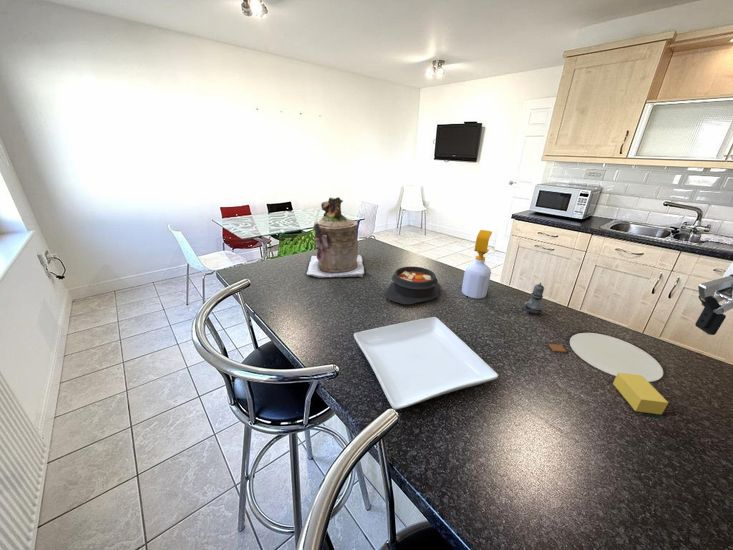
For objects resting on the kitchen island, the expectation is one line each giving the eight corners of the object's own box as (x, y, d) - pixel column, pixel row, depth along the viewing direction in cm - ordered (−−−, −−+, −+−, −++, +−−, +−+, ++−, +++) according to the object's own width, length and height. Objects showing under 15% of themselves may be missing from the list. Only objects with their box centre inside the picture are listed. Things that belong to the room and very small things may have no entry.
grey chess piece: (530, 320, 96) (540, 287, 92) (517, 311, 102) (526, 279, 97) (545, 317, 98) (555, 285, 93) (531, 308, 103) (540, 277, 98)
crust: (559, 349, 83) (561, 344, 82) (565, 355, 80) (567, 351, 79) (546, 348, 83) (548, 343, 83) (552, 354, 80) (553, 350, 80)
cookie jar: (362, 258, 146) (363, 191, 133) (365, 278, 123) (366, 201, 110) (311, 258, 144) (308, 191, 131) (305, 279, 122) (300, 200, 109)
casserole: (415, 315, 97) (417, 293, 94) (373, 296, 109) (373, 276, 105) (451, 291, 114) (454, 271, 111) (411, 277, 126) (413, 258, 122)
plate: (628, 340, 87) (630, 336, 87) (683, 390, 69) (685, 386, 69) (556, 332, 90) (557, 329, 90) (590, 379, 72) (592, 375, 72)
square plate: (351, 343, 83) (351, 331, 82) (434, 325, 92) (436, 315, 91) (392, 421, 60) (394, 407, 58) (498, 387, 69) (501, 374, 68)
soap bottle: (488, 292, 114) (501, 230, 104) (483, 301, 107) (496, 236, 97) (465, 286, 119) (475, 226, 109) (458, 295, 112) (469, 232, 102)
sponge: (634, 390, 69) (641, 375, 67) (659, 418, 62) (668, 402, 60) (610, 387, 70) (617, 372, 68) (632, 415, 63) (641, 399, 61)
